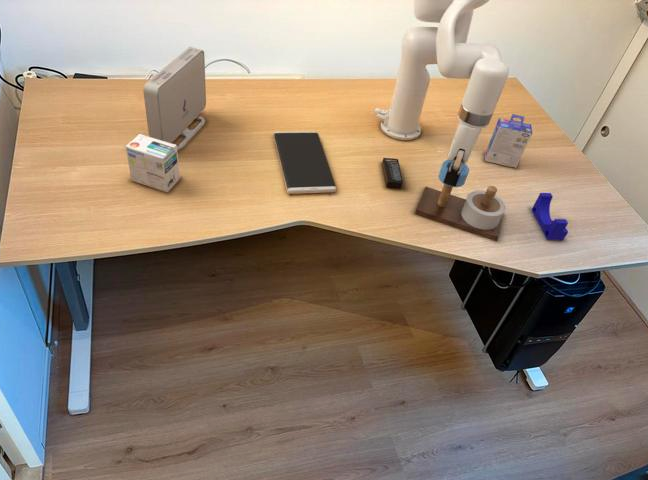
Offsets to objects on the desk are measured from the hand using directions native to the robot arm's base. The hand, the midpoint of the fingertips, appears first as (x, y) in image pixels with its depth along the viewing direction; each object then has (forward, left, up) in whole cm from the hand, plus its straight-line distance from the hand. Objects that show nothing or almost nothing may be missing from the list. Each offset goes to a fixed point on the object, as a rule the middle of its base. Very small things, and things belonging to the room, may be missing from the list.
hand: (452, 175), depth 139 cm
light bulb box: (-71, -26, -11) cm, 76 cm away
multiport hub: (-16, +7, -11) cm, 21 cm away
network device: (-77, -4, -11) cm, 78 cm away
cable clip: (+28, +8, -11) cm, 31 cm away
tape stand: (+5, 0, -11) cm, 12 cm away
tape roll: (0, 0, -1) cm, 1 cm away
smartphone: (-40, 0, -11) cm, 41 cm away
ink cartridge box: (+12, +32, -11) cm, 36 cm away
